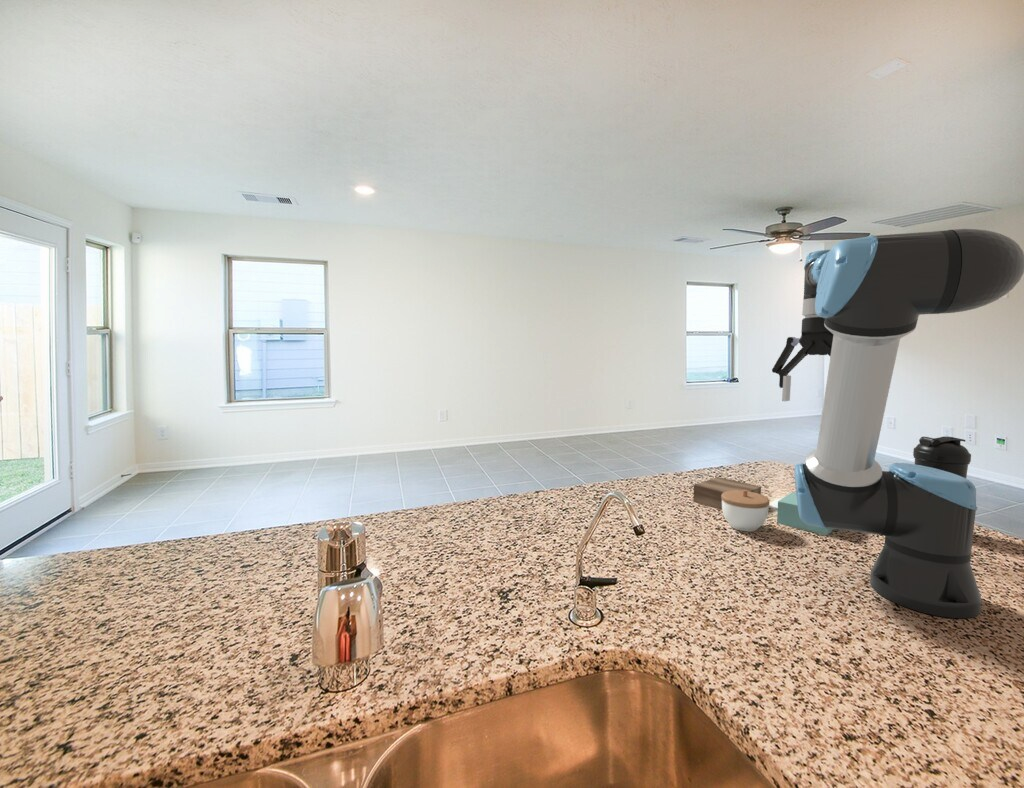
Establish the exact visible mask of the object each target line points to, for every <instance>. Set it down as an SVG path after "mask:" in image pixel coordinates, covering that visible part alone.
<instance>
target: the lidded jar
mask: <svg viewBox="0 0 1024 788" xmlns="http://www.w3.org/2000/svg"><path fill="white" fill-rule="evenodd" d="M721 498H722V509H721V510H722V515H723V517H724V519H725V520H726V521H727V523H728V524H729V526H730V527H731V528H732V529H735V530H737V531H741V532H756V531H757V530H758V529H759V528H760V527H762V526H763V525H764V524H765V523H766V520H767V519H768V514H769V508H770V507H769V506H770V499H769V497H767V496H765V495H763V494H762V493H761V494H758V493H754V492H749V491H747V490H743V491H739V490H734V491H726V492H723V493H722V495H721Z"/></svg>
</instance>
